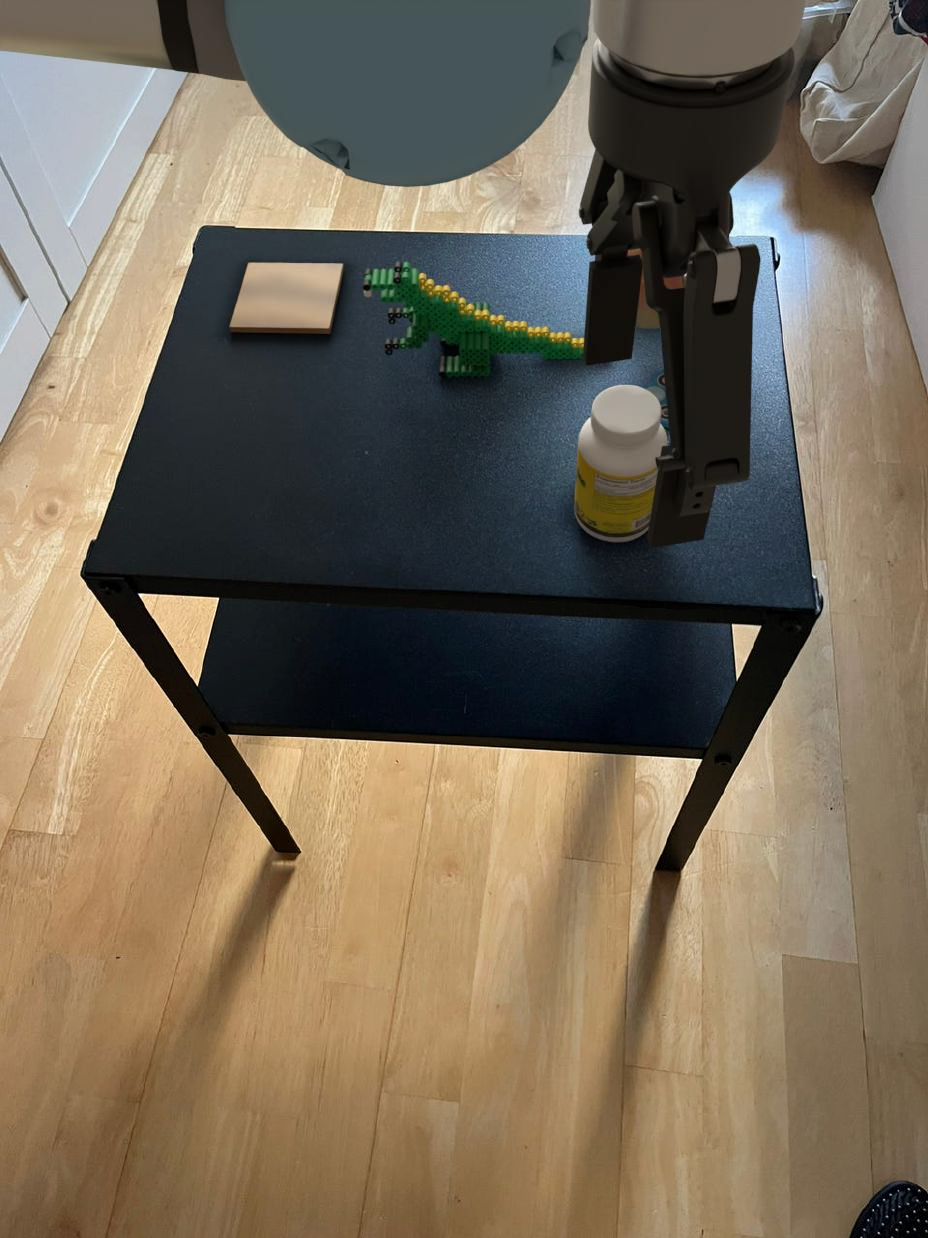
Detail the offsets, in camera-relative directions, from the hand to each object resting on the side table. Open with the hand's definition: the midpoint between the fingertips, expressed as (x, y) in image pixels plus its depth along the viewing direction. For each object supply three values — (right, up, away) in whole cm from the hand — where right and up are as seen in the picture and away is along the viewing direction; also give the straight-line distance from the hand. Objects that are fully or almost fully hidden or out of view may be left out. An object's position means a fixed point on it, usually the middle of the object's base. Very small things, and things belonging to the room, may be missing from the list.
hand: (638, 442), depth 56 cm
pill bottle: (+2, -2, +23) cm, 23 cm away
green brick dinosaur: (-7, +13, +33) cm, 37 cm away
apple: (+7, +17, +36) cm, 40 cm away
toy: (+6, +8, +29) cm, 31 cm away
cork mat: (-25, +19, +38) cm, 50 cm away
